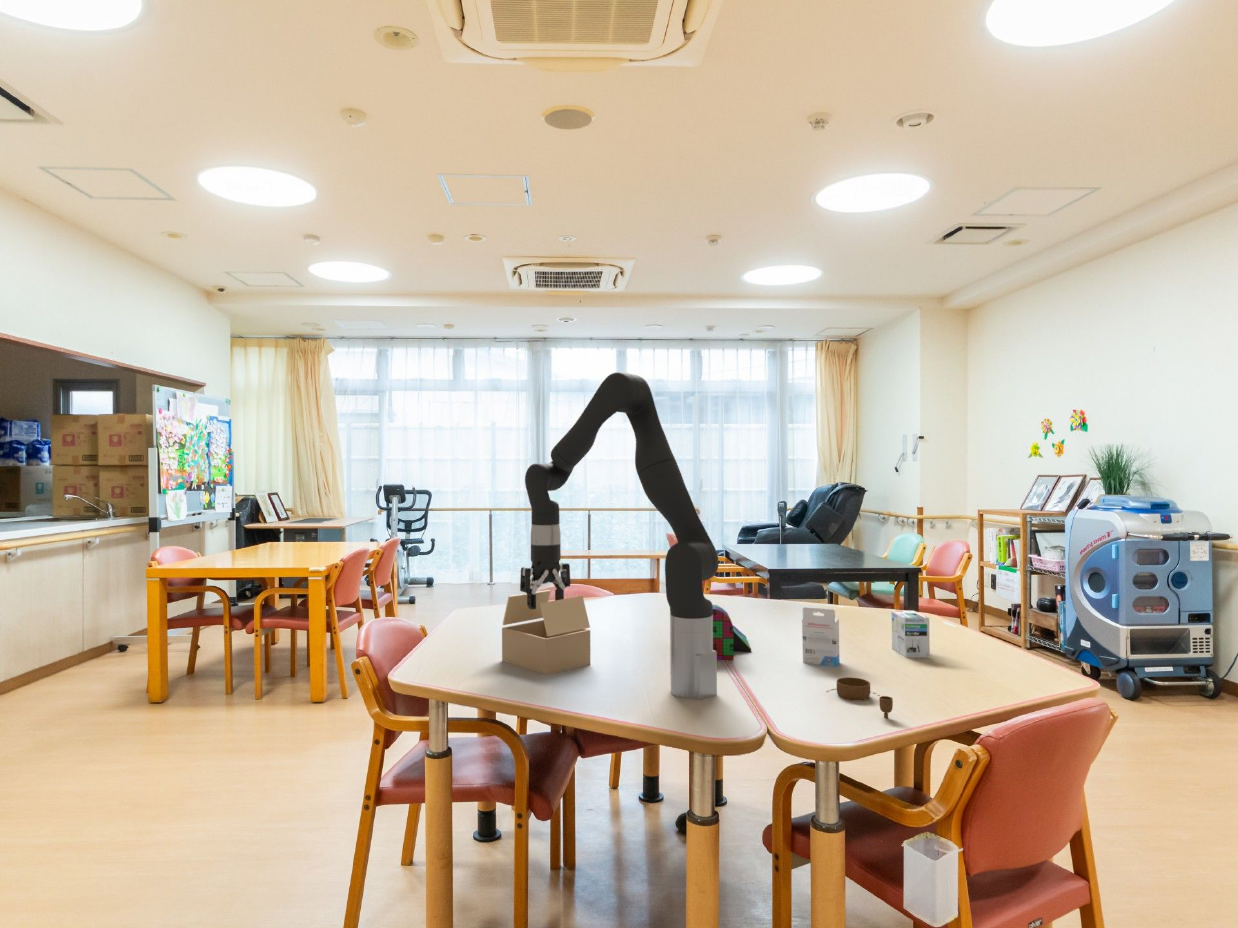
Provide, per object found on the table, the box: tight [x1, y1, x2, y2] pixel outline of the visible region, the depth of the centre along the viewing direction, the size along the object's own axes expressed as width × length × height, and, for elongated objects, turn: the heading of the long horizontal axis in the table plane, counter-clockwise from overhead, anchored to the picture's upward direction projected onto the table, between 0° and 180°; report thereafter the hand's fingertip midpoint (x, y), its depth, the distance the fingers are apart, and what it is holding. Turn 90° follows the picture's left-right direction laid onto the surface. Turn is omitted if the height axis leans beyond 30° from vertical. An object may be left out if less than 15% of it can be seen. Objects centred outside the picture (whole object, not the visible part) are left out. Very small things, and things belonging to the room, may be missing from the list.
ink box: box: [801, 606, 840, 667], centre depth 187 cm, size 9×5×15 cm, turn 62°
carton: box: [501, 619, 591, 675], centre depth 185 cm, size 18×14×10 cm
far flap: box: [502, 589, 551, 626], centre depth 191 cm, size 8×13×1 cm
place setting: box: [826, 676, 894, 720], centre depth 154 cm, size 18×20×6 cm
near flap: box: [540, 595, 591, 637], centre depth 179 cm, size 8×13×1 cm
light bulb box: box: [890, 609, 931, 659], centre depth 198 cm, size 11×7×11 cm, turn 179°
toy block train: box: [712, 603, 752, 661], centre depth 202 cm, size 25×17×14 cm
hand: (545, 606), depth 185 cm, fingers open, 8 cm apart
